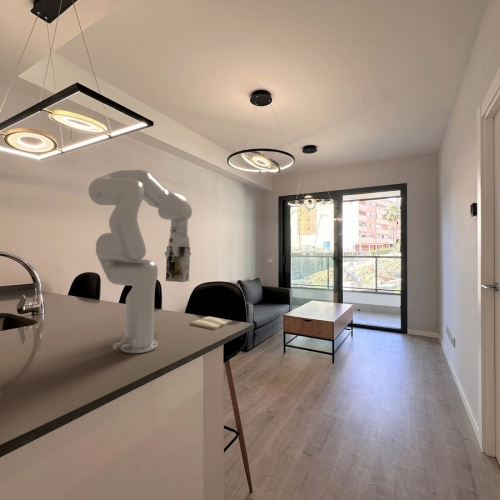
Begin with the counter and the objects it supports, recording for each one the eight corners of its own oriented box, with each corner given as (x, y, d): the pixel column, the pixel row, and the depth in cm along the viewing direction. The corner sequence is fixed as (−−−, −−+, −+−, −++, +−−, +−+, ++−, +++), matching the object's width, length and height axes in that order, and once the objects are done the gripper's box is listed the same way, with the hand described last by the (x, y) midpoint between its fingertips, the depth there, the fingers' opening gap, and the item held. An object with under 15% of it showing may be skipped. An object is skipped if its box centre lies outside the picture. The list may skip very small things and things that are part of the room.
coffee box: (165, 281, 132) (166, 245, 132) (172, 279, 138) (173, 246, 138) (183, 282, 130) (184, 246, 129) (189, 280, 136) (190, 246, 136)
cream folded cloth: (214, 329, 127) (214, 327, 127) (189, 324, 134) (189, 322, 134) (231, 322, 139) (231, 320, 139) (208, 318, 146) (208, 316, 146)
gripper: (171, 231, 124) (170, 271, 124) (197, 233, 139) (196, 269, 140) (159, 231, 128) (157, 270, 128) (185, 233, 143) (184, 268, 143)
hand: (177, 270), depth 134 cm, fingers closed on coffee box, 7 cm apart
